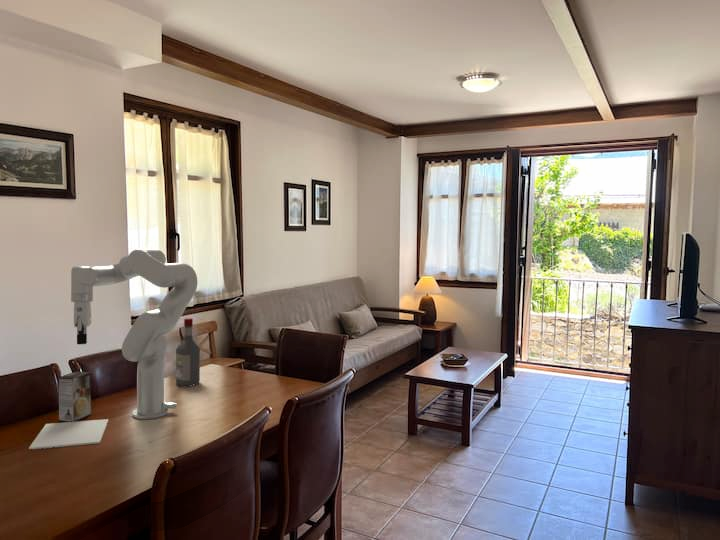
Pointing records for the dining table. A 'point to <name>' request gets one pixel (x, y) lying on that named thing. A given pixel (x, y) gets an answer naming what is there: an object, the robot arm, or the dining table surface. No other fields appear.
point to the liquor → (188, 358)
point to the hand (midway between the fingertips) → (81, 343)
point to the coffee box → (74, 396)
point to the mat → (70, 434)
